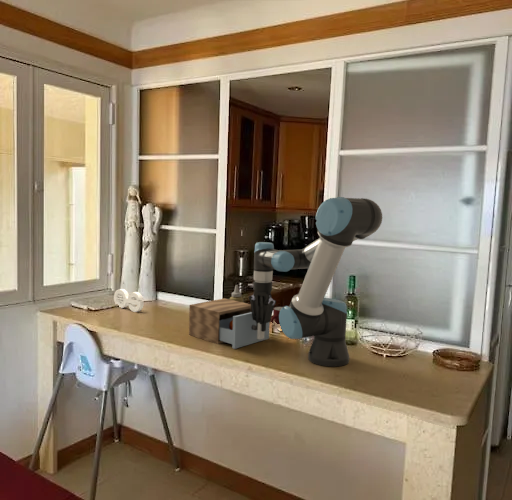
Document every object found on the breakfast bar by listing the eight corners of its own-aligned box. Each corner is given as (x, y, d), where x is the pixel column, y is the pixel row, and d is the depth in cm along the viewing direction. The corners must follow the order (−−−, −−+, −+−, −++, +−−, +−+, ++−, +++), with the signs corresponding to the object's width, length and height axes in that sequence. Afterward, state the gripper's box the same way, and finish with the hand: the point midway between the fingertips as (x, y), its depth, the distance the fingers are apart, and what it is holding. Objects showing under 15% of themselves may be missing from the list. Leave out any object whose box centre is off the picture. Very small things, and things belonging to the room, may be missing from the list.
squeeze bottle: (247, 322, 232) (248, 285, 230) (237, 325, 225) (238, 287, 223) (234, 319, 236) (235, 283, 234) (224, 322, 229) (224, 285, 228)
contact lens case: (113, 306, 256) (113, 288, 255) (117, 305, 258) (117, 287, 257) (140, 313, 243) (140, 293, 242) (143, 312, 244) (143, 293, 243)
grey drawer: (271, 339, 203) (272, 309, 202) (237, 349, 188) (238, 317, 186) (238, 329, 216) (238, 302, 215) (203, 338, 201) (203, 308, 199)
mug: (279, 334, 211) (280, 312, 210) (265, 331, 216) (266, 309, 215) (293, 330, 219) (294, 309, 218) (280, 327, 224) (281, 306, 223)
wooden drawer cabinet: (252, 334, 210) (253, 304, 209) (217, 344, 195) (218, 312, 194) (223, 326, 222) (224, 298, 221) (189, 334, 207) (189, 304, 205)
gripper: (281, 282, 189) (279, 340, 192) (257, 277, 198) (255, 333, 200) (269, 284, 184) (266, 344, 186) (244, 279, 192) (242, 336, 195)
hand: (260, 338), depth 193 cm, fingers closed
